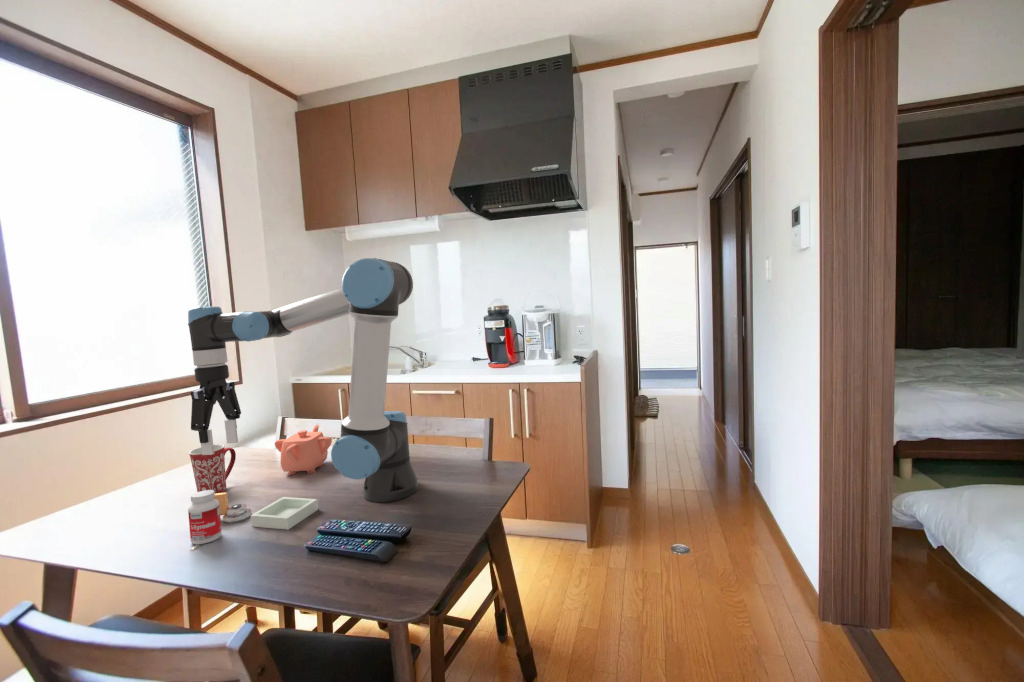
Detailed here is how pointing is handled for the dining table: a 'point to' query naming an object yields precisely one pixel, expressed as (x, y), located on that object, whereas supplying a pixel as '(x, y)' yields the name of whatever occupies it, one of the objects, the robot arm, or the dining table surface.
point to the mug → (211, 468)
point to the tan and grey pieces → (232, 510)
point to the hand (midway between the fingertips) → (220, 448)
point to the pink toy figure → (303, 451)
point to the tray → (284, 513)
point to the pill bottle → (204, 517)
